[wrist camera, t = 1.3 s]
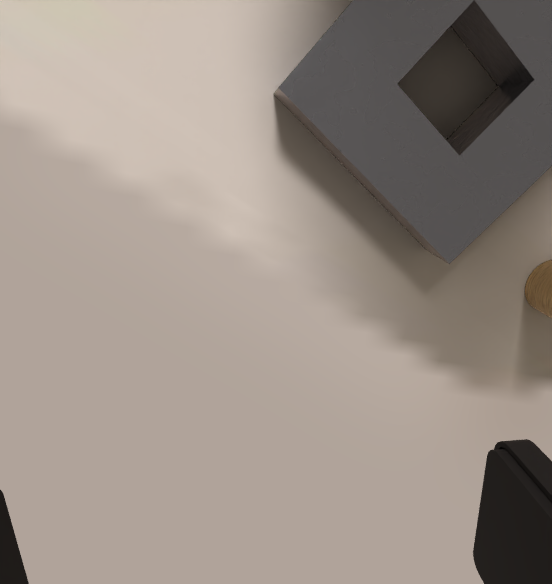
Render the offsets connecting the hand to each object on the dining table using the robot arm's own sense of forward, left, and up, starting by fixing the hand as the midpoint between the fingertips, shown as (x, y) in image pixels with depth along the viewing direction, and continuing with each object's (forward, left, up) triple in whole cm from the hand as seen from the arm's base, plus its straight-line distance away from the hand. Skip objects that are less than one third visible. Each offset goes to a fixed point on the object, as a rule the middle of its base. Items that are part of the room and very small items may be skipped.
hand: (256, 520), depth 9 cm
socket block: (-17, +3, -26) cm, 31 cm away
